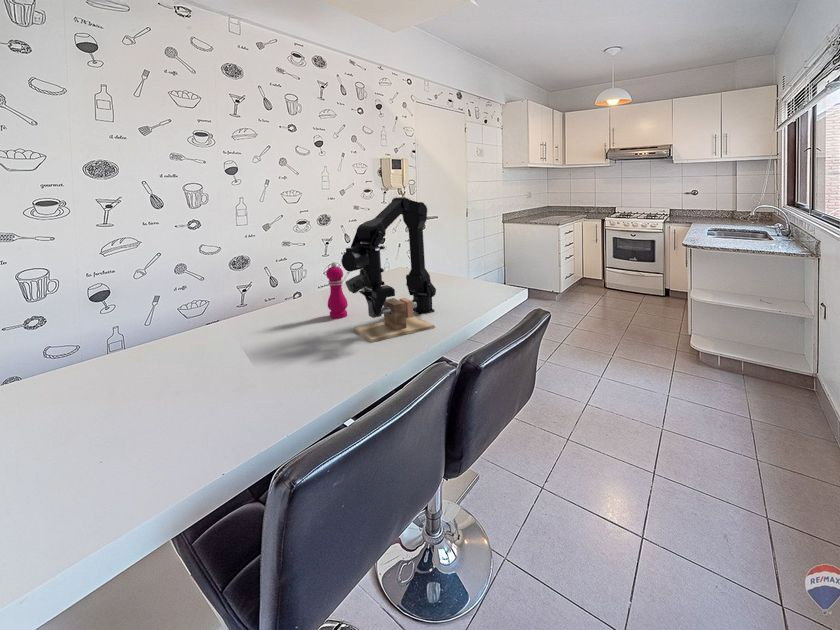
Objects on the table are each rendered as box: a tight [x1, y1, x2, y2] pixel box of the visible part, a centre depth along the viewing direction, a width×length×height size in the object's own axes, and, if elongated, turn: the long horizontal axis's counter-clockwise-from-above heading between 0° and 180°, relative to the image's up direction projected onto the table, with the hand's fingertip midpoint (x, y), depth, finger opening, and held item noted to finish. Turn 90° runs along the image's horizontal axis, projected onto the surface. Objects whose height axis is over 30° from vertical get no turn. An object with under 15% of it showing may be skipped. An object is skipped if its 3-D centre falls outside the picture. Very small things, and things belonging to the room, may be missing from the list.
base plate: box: [353, 314, 436, 343], centre depth 148 cm, size 23×14×1 cm, turn 120°
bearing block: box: [382, 297, 406, 330], centre depth 147 cm, size 4×8×8 cm, turn 30°
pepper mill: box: [325, 262, 349, 319], centre depth 162 cm, size 7×7×20 cm
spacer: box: [398, 297, 414, 318], centre depth 149 cm, size 2×5×5 cm, turn 30°
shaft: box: [367, 299, 417, 319], centre depth 146 cm, size 16×3×5 cm, turn 120°
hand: (375, 313), depth 143 cm, fingers closed on shaft, 3 cm apart
